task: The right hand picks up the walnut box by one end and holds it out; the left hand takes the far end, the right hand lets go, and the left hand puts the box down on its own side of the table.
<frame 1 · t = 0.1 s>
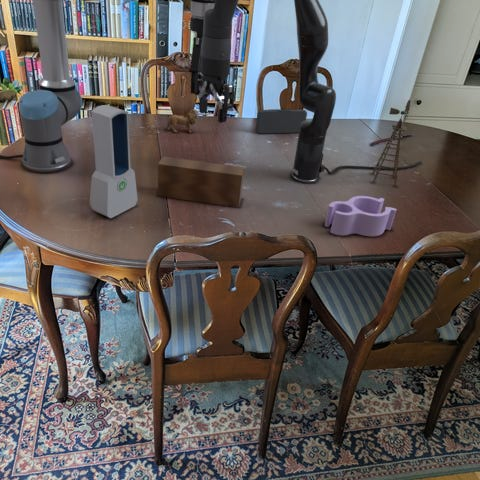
left hand: (199, 88, 153), 28 cm above the table, tool pointing down, fingers open, 13 cm apart
right hand: (212, 117, 128), 29 cm above the table, tool pointing down, fingers open, 8 cm apart
miniature windmill: (383, 180, 174), on the table
handheld gaming console: (279, 132, 208), on the table
sword: (391, 140, 212), on the table
box: (200, 197, 150), on the table
clip: (356, 226, 143), on the table
electronic device: (114, 208, 139), on the table
lion figurine: (182, 131, 198), on the table
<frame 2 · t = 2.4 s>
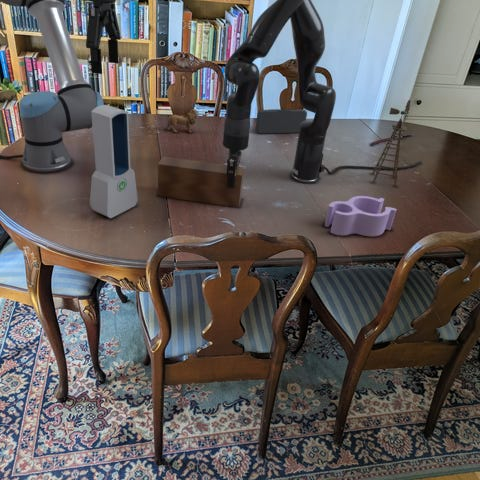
left hand: (105, 68, 135), 36 cm above the table, tool pointing down, fingers open, 13 cm apart
right hand: (231, 182, 145), 7 cm above the table, tool pointing down, fingers closed on box, 6 cm apart
box: (200, 197, 150), on the table, touching right hand
everything else where it was.
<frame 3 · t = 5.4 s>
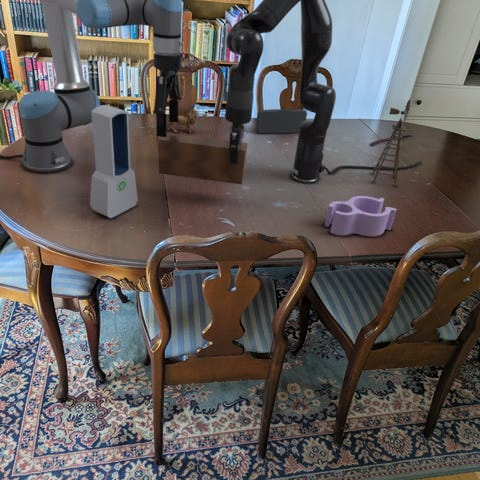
left hand: (167, 128, 139), 21 cm above the table, tool pointing down, fingers open, 13 cm apart
right hand: (234, 158, 141), 15 cm above the table, tool pointing down, fingers closed on box, 6 cm apart
box: (201, 174, 145), point 8 cm above the table, touching right hand
everything else where it was.
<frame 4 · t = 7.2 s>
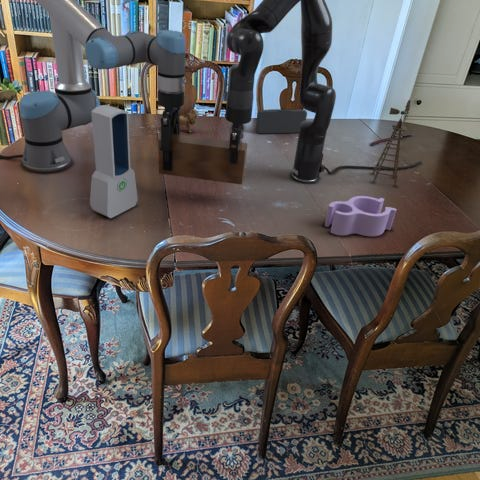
left hand: (170, 165, 145), 10 cm above the table, tool pointing down, fingers closed on box, 6 cm apart
right hand: (234, 158, 141), 15 cm above the table, tool pointing down, fingers closed on box, 6 cm apart
box: (201, 174, 145), point 8 cm above the table, touching left hand, right hand
everything else where it was.
when the right hand's fingers open (15 cm above the table, at t = 8.3 s): box stays where it is, held by the left hand.
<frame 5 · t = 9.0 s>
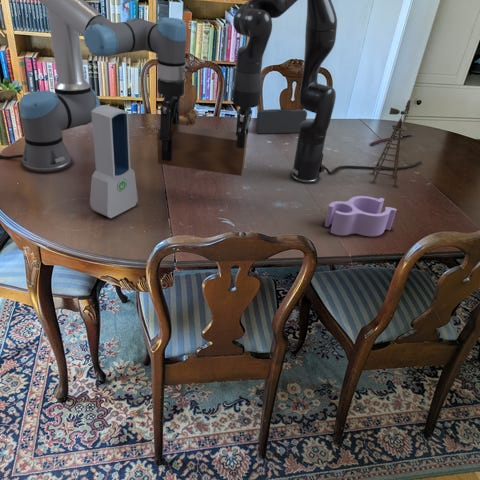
left hand: (169, 155, 143), 13 cm above the table, tool pointing down, fingers closed on box, 6 cm apart
right hand: (242, 142, 138), 20 cm above the table, tool pointing down, fingers open, 8 cm apart
box: (201, 165, 144), point 11 cm above the table, touching left hand
everything else where it was.
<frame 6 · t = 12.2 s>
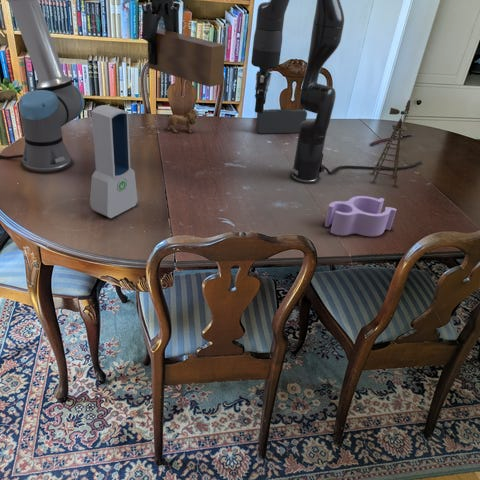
left hand: (161, 62, 148), 35 cm above the table, tool pointing down, fingers closed on box, 6 cm apart
right hand: (260, 107, 132), 31 cm above the table, tool pointing down, fingers open, 8 cm apart
box: (184, 75, 144), point 34 cm above the table, touching left hand
everything else where it was.
when the left hand's fingers open (3 cm above the table, at t = 17.3 s): box drops 1 cm, on the table.
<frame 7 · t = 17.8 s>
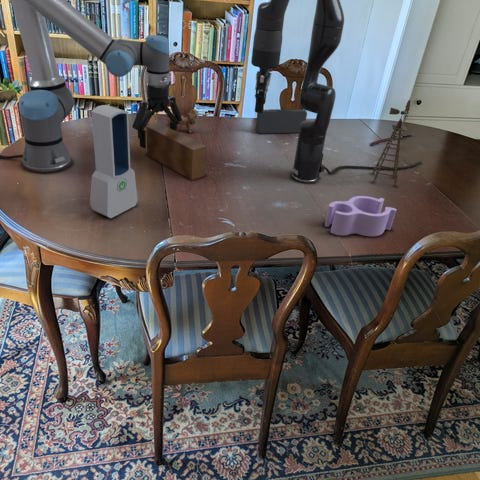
left hand: (158, 143, 172), 5 cm above the table, tool pointing down, fingers open, 13 cm apart
right hand: (260, 107, 132), 31 cm above the table, tool pointing down, fingers open, 8 cm apart
box: (174, 165, 169), on the table
everything else where it was.
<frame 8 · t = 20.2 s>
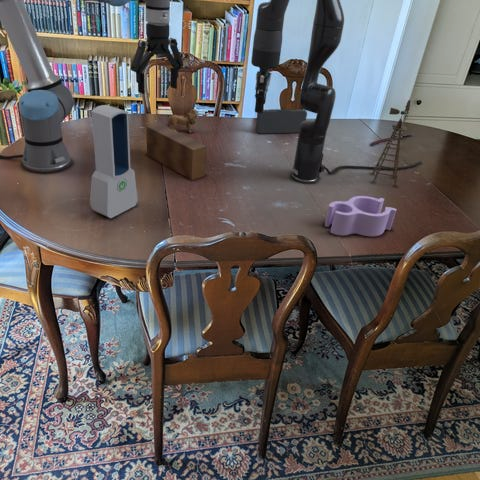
left hand: (157, 90, 161), 24 cm above the table, tool pointing down, fingers open, 13 cm apart
right hand: (260, 107, 132), 31 cm above the table, tool pointing down, fingers open, 8 cm apart
nothing on the table moved.
at the end: box inside the target area (10.1 cm from its centre), on the table; the left hand is holding nothing; the right hand is holding nothing; box at rest at the end (0.0 cm/s) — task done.
